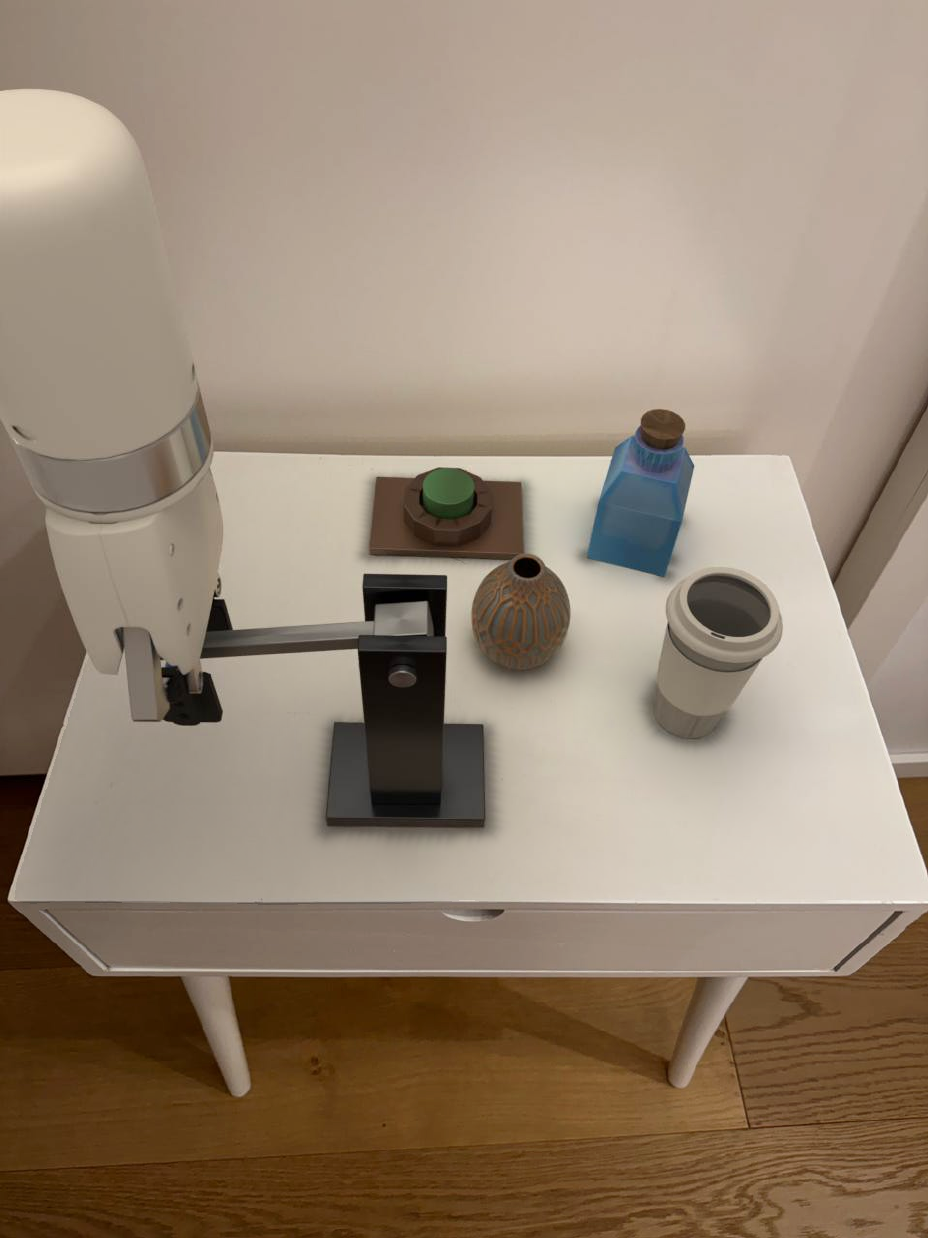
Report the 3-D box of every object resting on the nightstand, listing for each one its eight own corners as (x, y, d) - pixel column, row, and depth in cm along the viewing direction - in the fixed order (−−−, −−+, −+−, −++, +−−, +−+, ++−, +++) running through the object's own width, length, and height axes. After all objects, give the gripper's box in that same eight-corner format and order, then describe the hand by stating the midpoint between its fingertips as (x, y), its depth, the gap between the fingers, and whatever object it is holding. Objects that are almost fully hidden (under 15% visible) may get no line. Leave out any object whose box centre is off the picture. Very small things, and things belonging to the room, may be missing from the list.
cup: (622, 728, 66) (656, 622, 56) (650, 656, 69) (687, 546, 60) (723, 767, 64) (775, 665, 54) (746, 692, 68) (799, 584, 58)
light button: (421, 519, 74) (421, 503, 73) (423, 482, 76) (423, 466, 75) (473, 520, 74) (474, 505, 73) (473, 484, 76) (474, 468, 75)
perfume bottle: (586, 557, 75) (610, 442, 65) (602, 503, 79) (627, 387, 69) (664, 576, 74) (700, 462, 64) (677, 521, 78) (712, 405, 68)
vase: (484, 693, 67) (491, 617, 60) (458, 617, 71) (462, 537, 64) (576, 673, 68) (594, 596, 61) (546, 600, 72) (559, 520, 65)
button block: (369, 554, 74) (367, 532, 72) (376, 482, 79) (375, 459, 77) (522, 560, 75) (525, 538, 73) (520, 487, 79) (523, 465, 77)
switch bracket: (326, 826, 60) (298, 666, 46) (335, 730, 65) (311, 557, 50) (484, 828, 61) (503, 669, 47) (482, 732, 65) (499, 561, 51)
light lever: (171, 691, 51) (155, 665, 49) (184, 630, 53) (169, 604, 51) (433, 675, 50) (427, 648, 48) (434, 614, 52) (428, 586, 50)
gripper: (71, 307, 44) (161, 566, 58) (-45, 590, 34) (99, 818, 48) (235, 310, 44) (284, 567, 59) (169, 592, 34) (248, 819, 48)
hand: (200, 678), depth 53 cm, fingers closed on light lever, 4 cm apart
